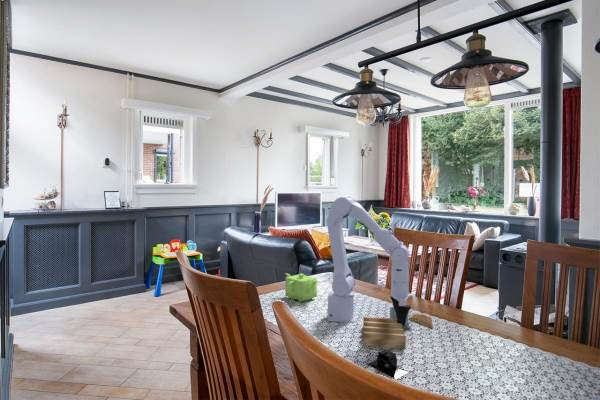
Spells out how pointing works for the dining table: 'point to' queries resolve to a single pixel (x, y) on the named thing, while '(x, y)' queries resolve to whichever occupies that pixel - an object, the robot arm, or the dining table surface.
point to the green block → (301, 287)
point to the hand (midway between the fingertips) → (399, 320)
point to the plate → (393, 315)
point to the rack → (383, 332)
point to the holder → (406, 327)
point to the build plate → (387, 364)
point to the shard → (422, 319)
